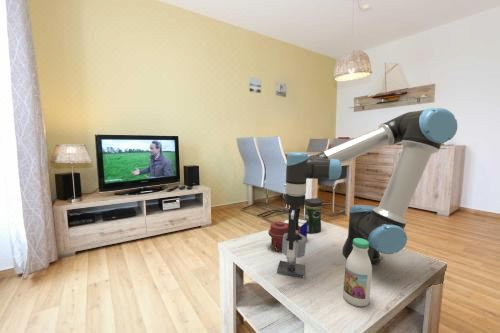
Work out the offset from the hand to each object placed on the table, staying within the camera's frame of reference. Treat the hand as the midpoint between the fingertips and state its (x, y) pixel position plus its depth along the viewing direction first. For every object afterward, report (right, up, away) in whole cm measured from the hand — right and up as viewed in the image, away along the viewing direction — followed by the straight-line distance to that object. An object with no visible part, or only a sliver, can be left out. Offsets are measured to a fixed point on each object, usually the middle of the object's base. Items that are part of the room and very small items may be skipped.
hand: (292, 251), depth 89 cm
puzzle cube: (+6, -5, +28) cm, 29 cm away
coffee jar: (+18, -4, +41) cm, 45 cm away
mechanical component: (-3, -6, +20) cm, 21 cm away
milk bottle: (+18, -11, -14) cm, 25 cm away
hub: (+1, 0, 0) cm, 1 cm away
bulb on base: (0, -8, +1) cm, 8 cm away
